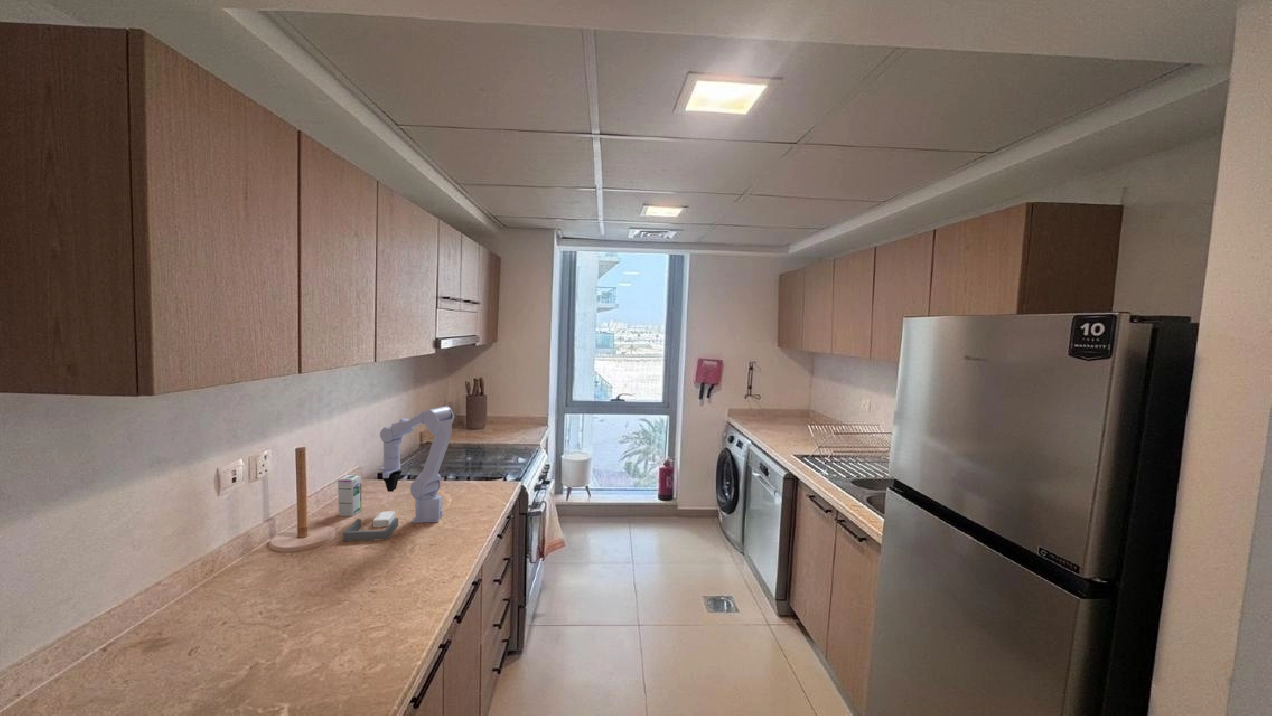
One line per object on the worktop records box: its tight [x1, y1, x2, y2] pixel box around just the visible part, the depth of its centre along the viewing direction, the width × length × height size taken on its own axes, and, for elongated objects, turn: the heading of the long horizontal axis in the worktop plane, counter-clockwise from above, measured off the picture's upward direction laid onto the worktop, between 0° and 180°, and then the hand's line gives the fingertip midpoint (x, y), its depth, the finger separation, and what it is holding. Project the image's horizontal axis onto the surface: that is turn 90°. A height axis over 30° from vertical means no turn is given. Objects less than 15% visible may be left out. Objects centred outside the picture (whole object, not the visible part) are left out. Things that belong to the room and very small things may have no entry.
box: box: [342, 517, 399, 542], centre depth 172 cm, size 14×12×3 cm
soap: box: [372, 510, 396, 528], centre depth 181 cm, size 9×6×3 cm, turn 11°
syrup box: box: [337, 474, 363, 517], centre depth 189 cm, size 6×6×14 cm
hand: (391, 490), depth 192 cm, fingers closed
